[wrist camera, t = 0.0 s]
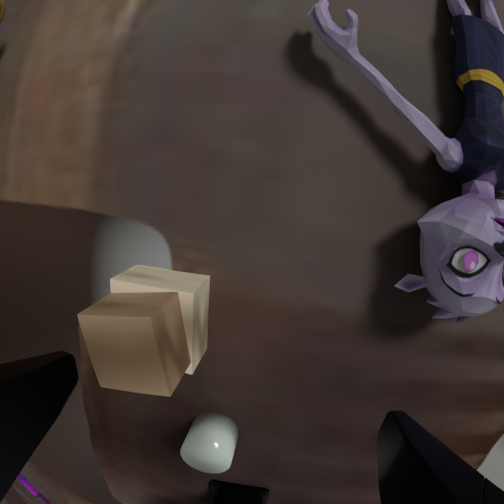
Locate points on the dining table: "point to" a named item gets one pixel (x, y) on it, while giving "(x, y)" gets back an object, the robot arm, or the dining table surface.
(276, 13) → the dining table surface
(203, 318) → the base block
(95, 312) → the top block
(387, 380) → the dining table surface
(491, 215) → the toy
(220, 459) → the grey rounded cylinder
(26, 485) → the handgun
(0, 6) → the toy helicopter
